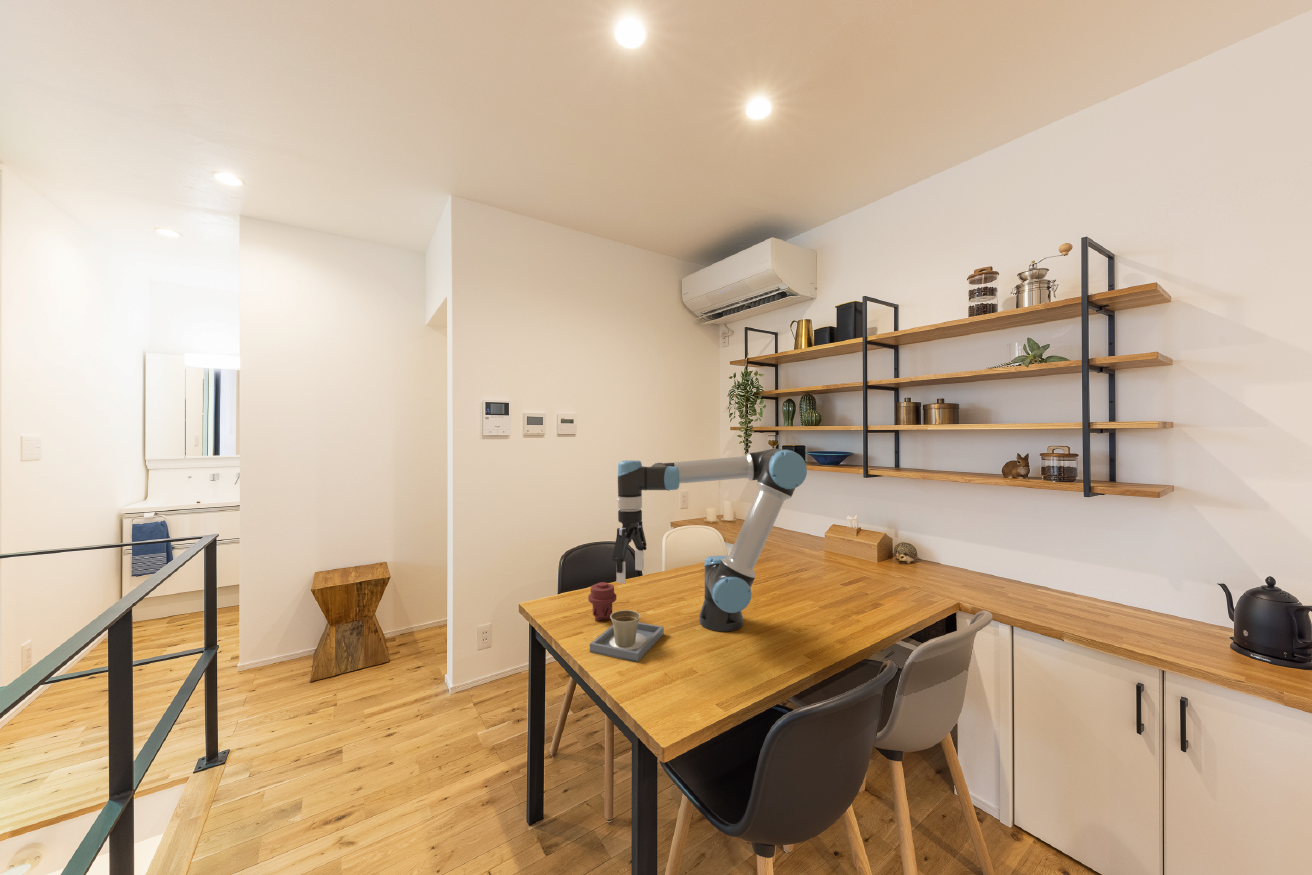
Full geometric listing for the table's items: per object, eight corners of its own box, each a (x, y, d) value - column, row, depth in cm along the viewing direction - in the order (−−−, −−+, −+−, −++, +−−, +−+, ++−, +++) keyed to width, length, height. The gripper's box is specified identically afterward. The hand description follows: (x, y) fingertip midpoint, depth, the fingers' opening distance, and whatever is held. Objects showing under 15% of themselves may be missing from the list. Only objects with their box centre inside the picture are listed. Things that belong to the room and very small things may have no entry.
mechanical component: (592, 612, 171) (618, 613, 170) (585, 623, 161) (613, 624, 160) (592, 578, 170) (618, 579, 169) (585, 588, 160) (613, 589, 160)
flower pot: (626, 633, 151) (626, 607, 151) (646, 642, 144) (646, 615, 144) (603, 643, 144) (603, 615, 144) (624, 653, 138) (624, 624, 137)
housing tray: (663, 634, 152) (663, 626, 152) (637, 662, 134) (637, 653, 134) (620, 626, 158) (620, 618, 158) (589, 651, 140) (589, 643, 140)
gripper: (635, 502, 159) (636, 564, 160) (600, 515, 136) (601, 587, 137) (655, 503, 156) (656, 566, 157) (623, 517, 133) (623, 590, 134)
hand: (630, 576), depth 147 cm, fingers open, 13 cm apart
